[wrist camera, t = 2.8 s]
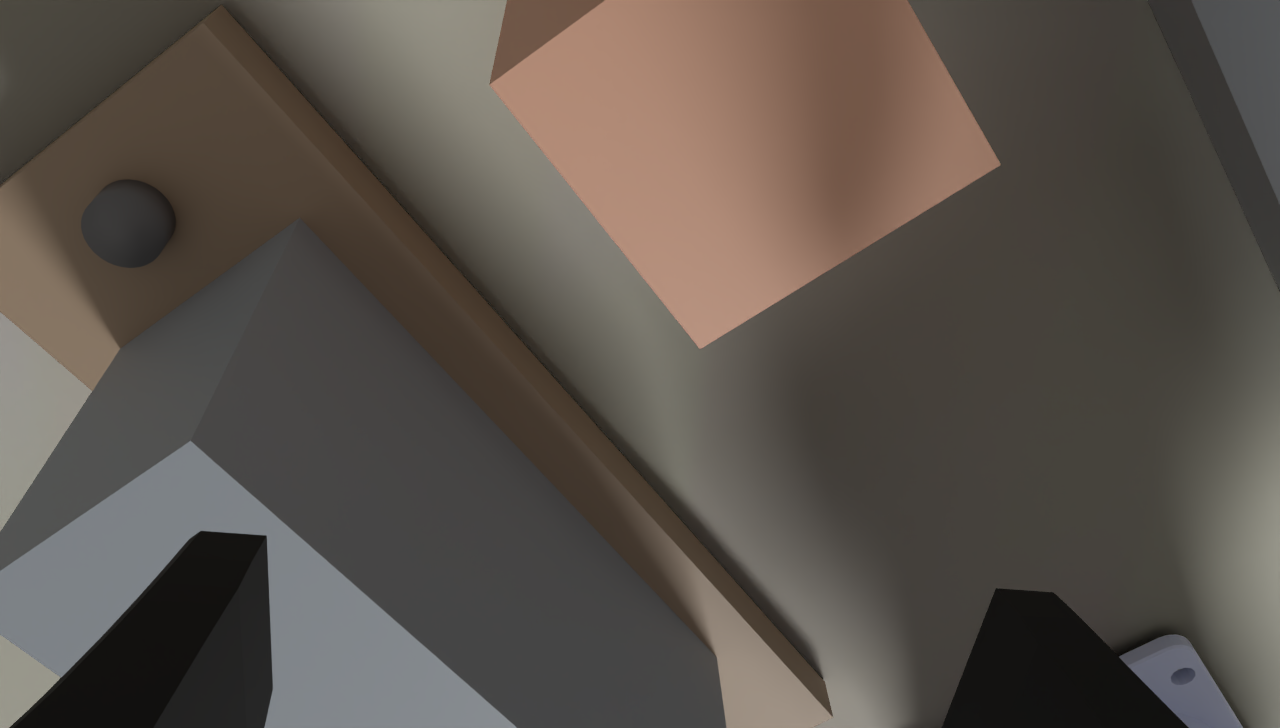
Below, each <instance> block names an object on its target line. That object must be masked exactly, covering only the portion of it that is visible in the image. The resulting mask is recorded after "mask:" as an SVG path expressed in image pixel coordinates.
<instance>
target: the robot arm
mask: <svg viewBox="0 0 1280 728" xmlns="http://www.w3.org/2000/svg"><path fill="white" fill-rule="evenodd" d="M1178 669H1180V670H1178ZM272 691H273V677H272V652H271V627H270V603H269V578H268V554H267V536H266V535H252V534H239V533H225V532H211V531H200V532H198V533H197V534H196V535H194V536H193V537H191V538H190V539H189V540H188V541H187V542H186V543H185V544H184V546H183V547H182V548H181V549H180V550H179V551H178V553H177V554H176V555H175V556H174V557H173V558H172V560H171V561H170V562H169V563H168V564H167V565H166V566H165V568H164V569H163V570H162V571H161V572H160V573H159V574H158V576H157V577H156V578H155V579H154V580H153V581H152V582H151V583H150V585H149V586H148V587H147V588H146V589H145V590H144V591H143V592H142V594H141V595H140V596H139V597H138V598H137V599H136V600H135V601H134V602H133V603H132V605H131V606H130V607H129V608H128V609H127V610H126V611H125V612H124V613H123V614H122V615H121V616H120V617H119V619H118V620H117V621H116V622H115V623H114V624H113V625H112V626H111V627H110V628H109V629H108V630H107V631H106V633H105V634H104V635H103V636H102V637H101V638H100V639H99V640H98V641H97V642H96V643H95V644H94V645H93V646H92V647H91V648H90V649H89V650H88V651H87V652H86V653H85V654H84V655H83V656H82V657H81V658H80V659H79V660H78V661H77V662H76V663H75V664H74V665H73V666H72V667H71V668H70V669H69V670H68V671H67V672H66V673H65V674H64V675H63V676H62V677H61V678H60V679H59V680H58V682H57V683H56V684H55V685H54V686H53V687H52V688H51V689H50V690H49V691H48V692H47V693H46V694H45V695H44V696H43V697H42V698H41V699H39V700H38V701H37V702H36V703H35V704H34V705H33V706H32V707H31V708H30V709H29V710H28V711H27V712H26V713H25V714H24V715H23V716H22V717H20V718H19V719H18V720H17V721H16V722H15V723H14V724H13V725H12V726H11V727H10V728H264V727H265V723H266V718H267V714H268V709H269V705H270V700H271V695H272ZM942 728H1243V727H1242V725H1241V723H1240V722H1239V720H1238V718H1237V717H1236V715H1235V714H1234V712H1233V710H1232V709H1231V707H1230V706H1229V704H1228V702H1227V701H1226V699H1225V698H1224V696H1223V694H1222V693H1221V691H1220V689H1219V688H1218V686H1217V685H1216V683H1215V681H1214V680H1213V678H1212V677H1211V675H1210V673H1209V672H1208V670H1207V669H1206V667H1205V665H1204V664H1203V662H1202V661H1201V659H1200V657H1199V656H1198V654H1197V652H1196V651H1195V649H1194V648H1193V646H1192V644H1191V643H1190V641H1189V640H1188V639H1187V638H1185V637H1184V636H1181V635H1177V634H1175V635H1165V636H1162V637H1159V638H1157V639H1155V640H1152V641H1150V642H1148V643H1146V644H1144V645H1142V646H1140V647H1138V648H1136V649H1133V650H1131V651H1129V652H1127V653H1125V654H1123V655H1121V656H1119V657H1118V656H1117V655H1116V654H1115V653H1114V652H1113V651H1112V650H1111V649H1110V647H1109V646H1108V645H1107V644H1106V643H1105V642H1104V641H1103V640H1102V639H1101V638H1100V637H1099V636H1098V635H1097V634H1096V633H1095V632H1094V631H1093V630H1092V629H1091V628H1090V627H1089V626H1088V625H1087V624H1086V623H1085V622H1084V621H1083V620H1082V619H1081V618H1080V617H1079V616H1078V615H1077V614H1076V613H1075V612H1074V611H1073V610H1071V609H1070V608H1069V607H1068V606H1067V605H1066V604H1065V603H1064V602H1063V601H1062V600H1061V599H1060V598H1059V597H1058V596H1057V595H1056V594H1054V593H1052V592H1038V591H1024V590H1010V589H997V588H996V590H995V592H994V595H993V598H992V600H991V603H990V605H989V608H988V610H987V613H986V616H985V618H984V621H983V623H982V626H981V628H980V631H979V633H978V636H977V639H976V641H975V644H974V646H973V649H972V651H971V654H970V657H969V659H968V662H967V664H966V667H965V669H964V672H963V675H962V677H961V680H960V682H959V685H958V687H957V690H956V692H955V695H954V698H953V700H952V703H951V705H950V708H949V710H948V713H947V716H946V718H945V721H944V723H943V726H942Z"/></svg>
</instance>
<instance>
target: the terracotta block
mask: <svg viewBox="0 0 1280 728" xmlns="http://www.w3.org/2000/svg"><path fill="white" fill-rule="evenodd" d="M489 85H490V86H491V87H492V89H493V90H494V91H495V92H496V94H497V95H498V96H499V97H500V99H501V100H502V101H503V102H504V104H505V105H506V106H507V108H508V109H509V110H510V111H511V113H512V114H513V115H514V116H515V118H516V119H517V120H518V121H519V123H520V124H521V125H522V126H523V128H524V129H525V130H526V131H527V133H528V134H529V135H530V136H531V138H532V139H533V140H534V141H535V143H536V144H537V145H538V146H539V148H540V149H541V150H542V151H543V153H544V154H545V155H546V157H547V158H548V159H549V160H550V162H551V163H552V164H553V165H554V167H555V168H556V169H557V170H558V172H559V173H560V174H561V175H562V177H563V178H564V179H565V180H566V182H567V183H568V184H569V185H570V187H571V188H572V189H573V190H574V192H575V193H576V194H577V195H578V197H579V198H580V199H581V200H582V202H583V203H584V204H585V205H586V207H587V208H588V209H589V211H590V212H591V213H592V214H593V216H594V217H595V218H596V219H597V221H598V222H599V223H600V224H601V226H602V227H603V228H604V229H605V231H606V232H607V233H608V234H609V236H610V237H611V238H612V239H613V241H614V242H615V243H616V244H617V246H618V247H619V248H620V249H621V251H622V252H623V253H624V254H625V256H626V257H627V258H628V260H629V261H630V262H631V263H632V265H633V266H634V267H635V268H636V270H637V271H638V272H639V273H640V275H641V276H642V277H643V278H644V280H645V281H646V282H647V283H648V285H649V286H650V287H651V288H652V290H653V291H654V292H655V293H656V295H657V296H658V297H659V298H660V300H661V301H662V302H663V303H664V305H665V306H666V307H667V308H668V310H669V311H670V312H671V314H672V315H673V316H674V317H675V319H676V320H677V321H678V322H679V324H680V325H681V326H682V327H683V329H684V330H685V331H686V332H687V334H688V335H689V336H690V337H691V339H692V340H693V341H694V342H695V344H696V345H697V346H698V347H699V349H701V348H703V347H705V346H706V345H708V344H709V343H711V342H713V341H714V340H716V339H718V338H719V337H721V336H722V335H724V334H726V333H727V332H729V331H731V330H732V329H734V328H736V327H737V326H739V325H740V324H742V323H744V322H745V321H747V320H749V319H750V318H752V317H753V316H755V315H757V314H758V313H760V312H762V311H763V310H765V309H767V308H768V307H770V306H771V305H773V304H775V303H776V302H778V301H780V300H781V299H783V298H784V297H786V296H788V295H789V294H791V293H793V292H794V291H796V290H798V289H799V288H801V287H802V286H804V285H806V284H807V283H809V282H811V281H812V280H814V279H815V278H817V277H819V276H820V275H822V274H824V273H825V272H827V271H829V270H830V269H832V268H833V267H835V266H837V265H838V264H840V263H842V262H843V261H845V260H846V259H848V258H850V257H851V256H853V255H855V254H856V253H858V252H860V251H861V250H863V249H864V248H866V247H868V246H869V245H871V244H873V243H874V242H876V241H877V240H879V239H881V238H882V237H884V236H886V235H887V234H889V233H891V232H892V231H894V230H895V229H897V228H899V227H900V226H902V225H904V224H905V223H907V222H908V221H910V220H912V219H913V218H915V217H917V216H918V215H920V214H921V213H923V212H925V211H926V210H928V209H930V208H931V207H933V206H935V205H936V204H938V203H939V202H941V201H943V200H944V199H946V198H948V197H949V196H951V195H952V194H954V193H956V192H957V191H959V190H961V189H962V188H964V187H966V186H967V185H969V184H970V183H972V182H974V181H975V180H977V179H979V178H980V177H982V176H983V175H985V174H987V173H988V172H990V171H992V170H993V169H995V168H997V167H998V166H1000V165H1001V164H1000V162H999V160H998V159H997V157H996V155H995V153H994V151H993V150H992V148H991V146H990V144H989V143H988V141H987V139H986V137H985V136H984V134H983V132H982V130H981V129H980V127H979V125H978V123H977V122H976V120H975V118H974V116H973V115H972V113H971V111H970V109H969V108H968V106H967V104H966V102H965V101H964V99H963V97H962V95H961V93H960V92H959V90H958V88H957V86H956V85H955V83H954V81H953V79H952V78H951V76H950V74H949V72H948V71H947V69H946V67H945V65H944V64H943V62H942V60H941V58H940V57H939V55H938V53H937V51H936V50H935V48H934V46H933V44H932V43H931V41H930V39H929V37H928V35H927V34H926V32H925V30H924V28H923V27H922V25H921V23H920V21H919V20H918V18H917V16H916V14H915V13H914V11H913V9H912V7H911V6H910V4H909V2H908V0H507V4H506V9H505V13H504V18H503V23H502V28H501V32H500V37H499V42H498V46H497V51H496V56H495V61H494V65H493V70H492V75H491V79H490V84H489Z"/></svg>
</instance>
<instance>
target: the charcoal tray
mask: <svg viewBox="0 0 1280 728" xmlns="http://www.w3.org/2000/svg"><path fill="white" fill-rule="evenodd" d="M1148 2H1149V4H1150V6H1151V9H1152V11H1153V13H1154V15H1155V17H1156V20H1157V22H1158V24H1159V26H1160V28H1161V31H1162V33H1163V35H1164V37H1165V39H1166V42H1167V44H1168V46H1169V48H1170V50H1171V53H1172V55H1173V57H1174V59H1175V62H1176V64H1177V66H1178V68H1179V70H1180V73H1181V75H1182V77H1183V79H1184V81H1185V84H1186V86H1187V88H1188V90H1189V92H1190V95H1191V97H1192V99H1193V101H1194V103H1195V106H1196V108H1197V110H1198V112H1199V114H1200V117H1201V119H1202V121H1203V123H1204V125H1205V128H1206V130H1207V132H1208V134H1209V136H1210V139H1211V141H1212V143H1213V145H1214V147H1215V150H1216V152H1217V154H1218V156H1219V159H1220V161H1221V163H1222V165H1223V167H1224V170H1225V172H1226V174H1227V176H1228V178H1229V181H1230V183H1231V185H1232V187H1233V189H1234V192H1235V194H1236V196H1237V198H1238V200H1239V203H1240V205H1241V207H1242V209H1243V211H1244V214H1245V216H1246V218H1247V220H1248V222H1249V225H1250V227H1251V229H1252V231H1253V233H1254V236H1255V238H1256V240H1257V242H1258V244H1259V247H1260V249H1261V251H1262V253H1263V256H1264V258H1265V260H1266V262H1267V264H1268V267H1269V269H1270V271H1271V273H1272V275H1273V278H1274V280H1275V282H1276V284H1277V286H1278V289H1279V291H1280V0H1148Z"/></svg>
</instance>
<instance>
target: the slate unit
mask: <svg viewBox="0 0 1280 728" xmlns="http://www.w3.org/2000/svg"><path fill="white" fill-rule="evenodd" d="M0 312H1V313H2V314H3V315H5V316H6V317H7V318H8V319H9V320H10V321H12V322H13V323H14V324H15V325H16V326H17V327H19V328H20V329H21V330H22V331H23V332H24V333H26V334H27V335H28V336H29V337H30V338H31V339H33V340H34V341H35V342H36V343H37V344H38V345H39V346H41V347H42V348H43V349H44V350H45V351H46V352H48V353H49V354H50V355H51V356H52V357H53V358H55V359H56V360H57V361H58V362H59V363H60V364H62V365H63V366H64V367H65V368H66V369H67V370H69V371H70V372H71V373H72V374H73V375H74V376H76V377H77V378H78V379H79V380H80V381H81V382H83V383H84V384H85V385H86V386H87V387H88V388H89V389H91V390H92V393H91V394H90V396H89V397H88V399H87V400H86V402H85V403H84V405H83V406H82V408H81V409H80V411H79V412H78V414H77V416H76V417H75V419H74V420H73V422H72V423H71V425H70V426H69V428H68V429H67V431H66V432H65V434H64V435H63V437H62V438H61V440H60V442H59V443H58V445H57V446H56V448H55V449H54V451H53V452H52V454H51V455H50V457H49V458H48V460H47V461H46V463H45V464H44V466H43V468H42V469H41V471H40V472H39V474H38V475H37V477H36V478H35V480H34V481H33V483H32V484H31V486H30V487H29V489H28V490H27V492H26V494H25V495H24V497H23V498H22V500H21V501H20V503H19V504H18V506H17V507H16V509H15V510H14V512H13V513H12V515H11V516H10V518H9V520H8V521H7V523H6V524H5V526H4V527H3V529H2V530H1V532H0V635H2V636H3V637H5V638H6V639H7V640H9V641H10V642H12V643H13V644H14V645H16V646H17V647H19V648H20V649H21V650H23V651H24V652H26V653H27V654H29V655H30V656H31V657H33V658H34V659H36V660H37V661H38V662H40V663H41V664H43V665H44V666H45V667H47V668H48V669H50V670H51V671H53V672H54V673H55V674H57V675H58V676H60V677H62V676H63V675H64V674H65V673H66V672H67V671H68V670H69V669H70V668H71V667H72V666H73V665H74V664H75V663H76V662H77V661H78V660H79V659H80V658H81V657H82V656H83V655H84V654H85V653H86V652H87V651H88V650H89V649H90V648H91V647H92V646H93V645H94V644H95V643H96V642H97V641H98V640H99V639H100V638H101V637H102V636H103V635H104V634H105V633H106V631H107V630H108V629H109V628H110V627H111V626H112V625H113V624H114V623H115V622H116V621H117V620H118V619H119V617H120V616H121V615H122V614H123V613H124V612H125V611H126V610H127V609H128V608H129V607H130V606H131V605H132V603H133V602H134V601H135V600H136V599H137V598H138V597H139V596H140V595H141V594H142V592H143V591H144V590H145V589H146V588H147V587H148V586H149V585H150V583H151V582H152V581H153V580H154V579H155V578H156V577H157V576H158V574H159V573H160V572H161V571H162V570H163V569H164V568H165V566H166V565H167V564H168V563H169V562H170V561H171V560H172V558H173V557H174V556H175V555H176V554H177V553H178V551H179V550H180V549H181V548H182V547H183V546H184V544H185V543H186V542H187V541H188V540H189V539H190V538H191V537H193V536H194V535H196V534H197V533H198V532H200V531H211V532H225V533H239V534H252V535H266V536H267V554H268V578H269V603H270V627H271V652H272V677H273V691H272V695H271V700H270V705H269V709H268V714H267V718H266V723H265V727H264V728H813V727H815V726H817V725H819V724H821V723H823V722H825V721H827V720H829V719H831V718H833V715H832V710H831V706H830V702H829V698H828V694H827V689H826V685H825V682H824V681H823V679H822V678H821V677H820V676H819V675H818V674H817V673H816V672H815V670H814V669H813V668H812V667H811V666H810V665H809V664H808V663H807V661H806V660H805V659H804V658H803V657H802V656H801V655H800V654H799V652H798V651H797V650H796V649H795V648H794V647H793V646H792V645H791V643H790V642H789V641H788V640H787V639H786V638H785V637H784V636H783V634H782V633H781V632H780V631H779V630H778V629H777V628H776V627H775V626H774V624H773V623H772V622H771V621H770V620H769V619H768V618H767V617H766V615H765V614H764V613H763V612H762V611H761V610H760V609H759V608H758V606H757V605H756V604H755V603H754V602H753V601H752V600H751V599H750V597H749V596H748V595H747V594H746V593H745V592H744V591H743V590H742V588H741V587H740V586H739V585H738V584H737V583H736V582H735V581H734V579H733V578H732V577H731V576H730V575H729V574H728V573H727V572H726V570H725V569H724V568H723V567H722V566H721V565H720V564H719V563H718V561H717V560H716V559H715V558H714V557H713V556H712V555H711V554H710V552H709V551H708V550H707V549H706V548H705V547H704V546H703V545H702V544H701V542H700V541H699V540H698V539H697V538H696V537H695V536H694V535H693V533H692V532H691V531H690V530H689V529H688V528H687V527H686V526H685V524H684V523H683V522H682V521H681V520H680V519H679V518H678V517H677V515H676V514H675V513H674V512H673V511H672V510H671V509H670V508H669V506H668V505H667V504H666V503H665V502H664V501H663V500H662V499H661V497H660V496H659V495H658V494H657V493H656V492H655V491H654V490H653V488H652V487H651V486H650V485H649V484H648V483H647V482H646V481H645V479H644V478H643V477H642V476H641V475H640V474H639V473H638V472H637V471H636V469H635V468H634V467H633V466H632V465H631V464H630V463H629V462H628V460H627V459H626V458H625V457H624V456H623V455H622V454H621V453H620V451H619V450H618V449H617V448H616V447H615V446H614V445H613V444H612V442H611V441H610V440H609V439H608V438H607V437H606V436H605V435H604V433H603V432H602V431H601V430H600V429H599V428H598V427H597V426H596V424H595V423H594V422H593V421H592V420H591V419H590V418H589V417H588V415H587V414H586V413H585V412H584V411H583V410H582V409H581V408H580V406H579V405H578V404H577V403H576V402H575V401H574V400H573V399H572V397H571V396H570V395H569V394H568V393H567V392H566V391H565V390H564V389H563V387H562V386H561V385H560V384H559V383H558V382H557V381H556V380H555V378H554V377H553V376H552V375H551V374H550V373H549V372H548V371H547V369H546V368H545V367H544V366H543V365H542V364H541V363H540V362H539V360H538V359H537V358H536V357H535V356H534V355H533V354H532V353H531V351H530V350H529V349H528V348H527V347H526V346H525V345H524V344H523V342H522V341H521V340H520V339H519V338H518V337H517V336H516V335H515V333H514V332H513V331H512V330H511V329H510V328H509V327H508V326H507V324H506V323H505V322H504V321H503V320H502V319H501V318H500V317H499V315H498V314H497V313H496V312H495V311H494V310H493V309H492V308H491V307H490V305H489V304H488V303H487V302H486V301H485V300H484V299H483V298H482V296H481V295H480V294H479V293H478V292H477V291H476V290H475V289H474V287H473V286H472V285H471V284H470V283H469V282H468V281H467V280H466V278H465V277H464V276H463V275H462V274H461V273H460V272H459V271H458V269H457V268H456V267H455V266H454V265H453V264H452V263H451V262H450V260H449V259H448V258H447V257H446V256H445V255H444V254H443V253H442V251H441V250H440V249H439V248H438V247H437V246H436V245H435V244H434V242H433V241H432V240H431V239H430V238H429V237H428V236H427V235H426V233H425V232H424V231H423V230H422V229H421V228H420V227H419V226H418V225H417V223H416V222H415V221H414V220H413V219H412V218H411V217H410V216H409V214H408V213H407V212H406V211H405V210H404V209H403V208H402V207H401V205H400V204H399V203H398V202H397V201H396V200H395V199H394V198H393V196H392V195H391V194H390V193H389V192H388V191H387V190H386V189H385V187H384V186H383V185H382V184H381V183H380V182H379V181H378V180H377V178H376V177H375V176H374V175H373V174H372V173H371V172H370V171H369V169H368V168H367V167H366V166H365V165H364V164H363V163H362V162H361V160H360V159H359V158H358V157H357V156H356V155H355V154H354V153H353V152H352V150H351V149H350V148H349V147H348V146H347V145H346V144H345V143H344V141H343V140H342V139H341V138H340V137H339V136H338V135H337V134H336V132H335V131H334V130H333V129H332V128H331V127H330V126H329V125H328V123H327V122H326V121H325V120H324V119H323V118H322V117H321V116H320V114H319V113H318V112H317V111H316V110H315V109H314V108H313V107H312V105H311V104H310V103H309V102H308V101H307V100H306V99H305V98H304V96H303V95H302V94H301V93H300V92H299V91H298V90H297V89H296V87H295V86H294V85H293V84H292V83H291V82H290V81H289V80H288V78H287V77H286V76H285V75H284V74H283V73H282V72H281V71H280V70H279V68H278V67H277V66H276V65H275V64H274V63H273V62H272V61H271V59H270V58H269V57H268V56H267V55H266V54H265V53H264V52H263V50H262V49H261V48H260V47H259V46H258V45H257V44H256V43H255V41H254V40H253V39H252V38H251V37H250V36H249V35H248V34H247V32H246V31H245V30H244V29H243V28H242V27H241V26H240V25H239V23H238V22H237V21H236V20H235V19H234V18H233V17H232V16H231V14H230V13H229V12H228V11H227V10H226V9H225V8H224V7H223V5H220V6H219V7H218V8H217V9H215V10H214V11H213V12H212V13H210V14H209V15H208V16H207V17H206V18H204V19H203V20H202V21H201V22H199V23H198V24H197V25H196V26H195V27H193V28H192V29H191V30H190V31H188V32H187V33H186V34H185V35H184V36H182V37H181V38H180V39H179V40H177V41H176V42H175V43H174V44H172V45H171V46H170V47H169V48H168V49H166V50H165V51H164V52H163V53H161V54H160V55H159V56H158V57H157V58H155V59H154V60H153V61H152V62H150V63H149V64H148V65H147V66H146V67H144V68H143V69H142V70H141V71H139V72H138V73H137V74H136V75H134V76H133V77H132V78H131V79H130V80H128V81H127V82H126V83H125V84H123V85H122V86H121V87H120V88H119V89H117V90H116V91H115V92H114V93H112V94H111V95H110V96H109V97H108V98H106V99H105V100H104V101H103V102H101V103H100V104H99V105H98V106H96V107H95V108H94V109H93V110H92V111H90V112H89V113H88V114H87V115H85V116H84V117H83V118H82V119H81V120H79V121H78V122H77V123H76V124H74V125H73V126H72V127H71V128H70V129H68V130H67V131H66V132H65V133H63V134H62V135H61V136H60V137H58V138H57V139H56V140H55V141H54V142H52V143H51V144H50V145H49V146H47V147H46V148H45V149H44V150H43V151H41V152H40V153H39V154H38V155H36V156H35V157H34V158H33V159H32V160H30V161H29V162H28V163H27V164H25V165H24V166H23V167H22V168H21V169H19V170H18V171H17V172H16V173H14V174H13V175H12V176H11V177H9V178H8V179H7V180H6V181H5V182H3V183H2V184H1V185H0Z"/></svg>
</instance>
